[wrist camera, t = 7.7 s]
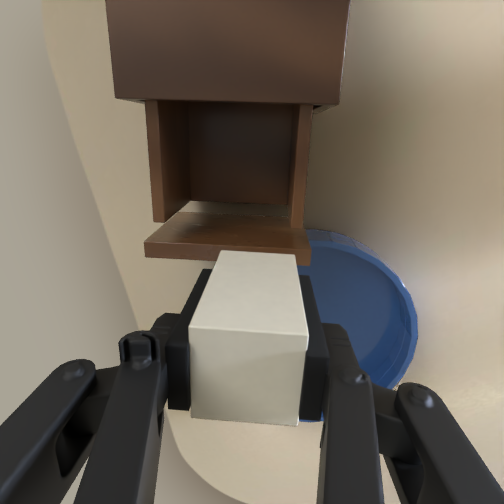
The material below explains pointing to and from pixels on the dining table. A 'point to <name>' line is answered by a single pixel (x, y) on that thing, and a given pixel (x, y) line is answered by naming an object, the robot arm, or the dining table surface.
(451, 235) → the dining table surface
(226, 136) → the drawer
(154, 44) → the cabinet
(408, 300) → the bowl
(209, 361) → the block
